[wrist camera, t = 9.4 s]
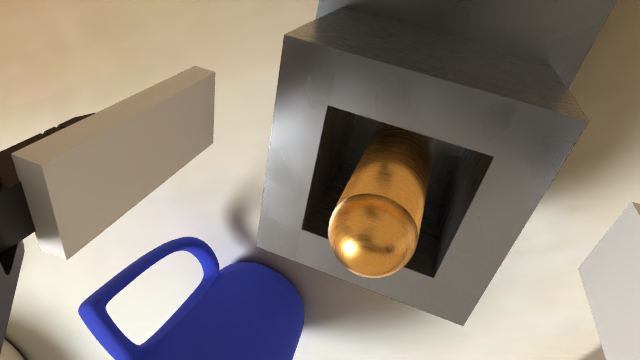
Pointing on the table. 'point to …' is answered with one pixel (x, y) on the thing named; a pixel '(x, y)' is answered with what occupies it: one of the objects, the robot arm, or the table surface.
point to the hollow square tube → (424, 118)
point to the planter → (9, 352)
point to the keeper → (426, 152)
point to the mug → (208, 312)
